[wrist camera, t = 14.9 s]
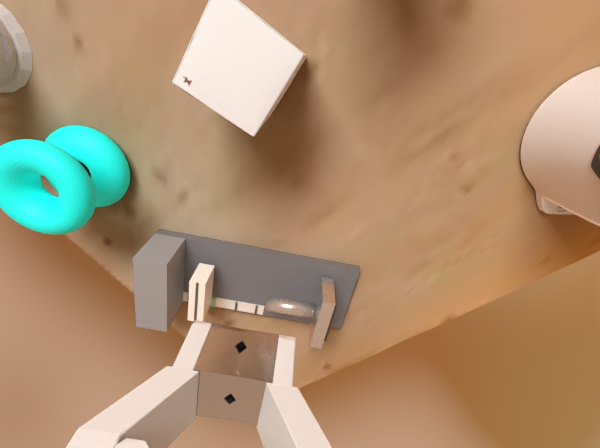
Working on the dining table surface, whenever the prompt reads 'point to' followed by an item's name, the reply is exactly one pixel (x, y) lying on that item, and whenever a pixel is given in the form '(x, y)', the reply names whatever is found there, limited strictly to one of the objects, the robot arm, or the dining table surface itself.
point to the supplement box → (238, 64)
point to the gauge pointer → (200, 292)
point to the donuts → (61, 178)
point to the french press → (13, 53)
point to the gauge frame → (230, 278)
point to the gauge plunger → (310, 310)
